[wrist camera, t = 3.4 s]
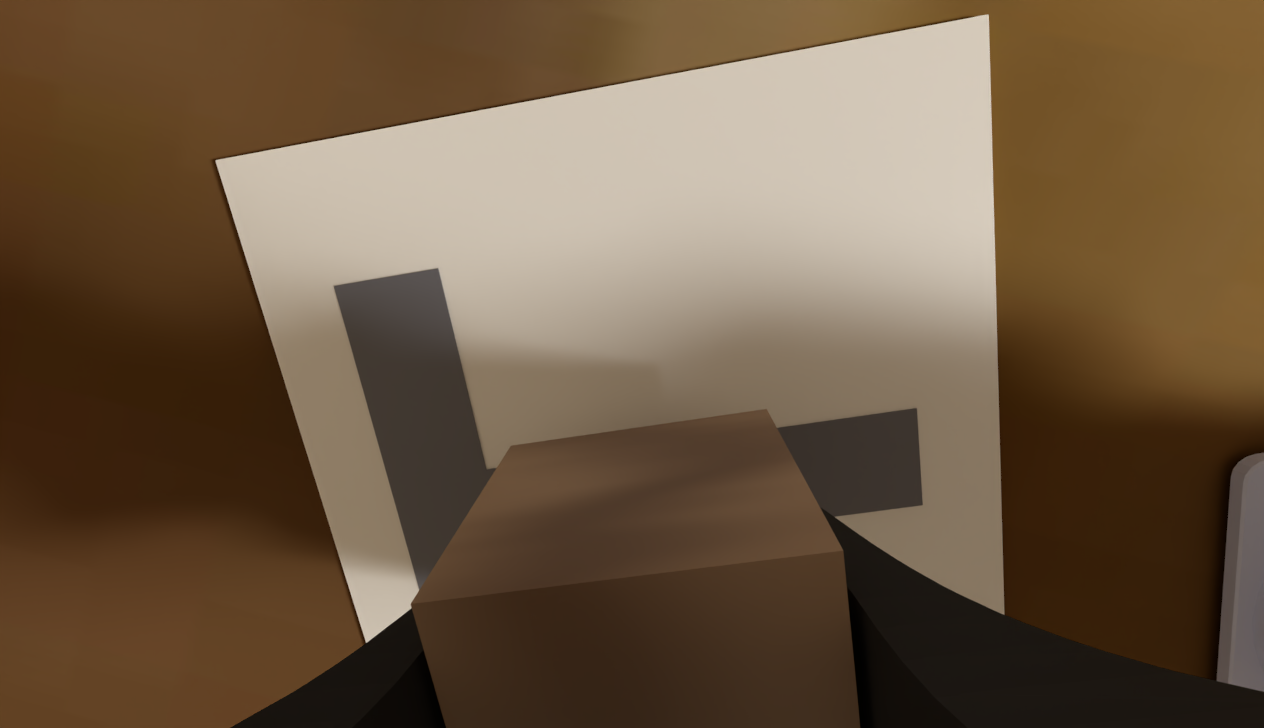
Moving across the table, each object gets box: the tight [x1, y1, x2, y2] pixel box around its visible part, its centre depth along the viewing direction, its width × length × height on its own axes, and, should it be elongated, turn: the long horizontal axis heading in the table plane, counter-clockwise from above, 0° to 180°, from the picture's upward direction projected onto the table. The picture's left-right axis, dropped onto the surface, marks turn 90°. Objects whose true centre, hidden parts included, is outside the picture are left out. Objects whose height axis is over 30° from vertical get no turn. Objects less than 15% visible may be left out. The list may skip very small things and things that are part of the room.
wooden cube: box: [411, 409, 860, 728], centre depth 10 cm, size 5×5×5 cm
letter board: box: [215, 14, 1004, 643], centre depth 15 cm, size 16×18×1 cm
